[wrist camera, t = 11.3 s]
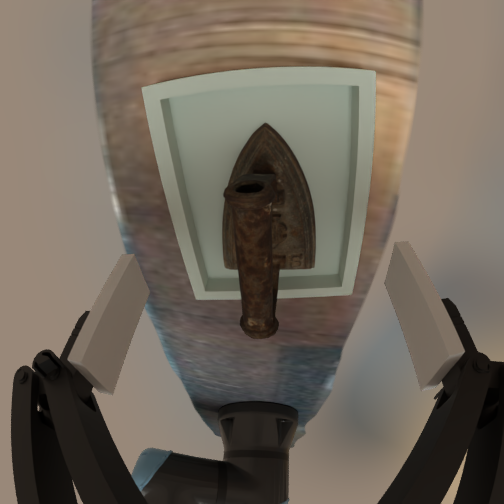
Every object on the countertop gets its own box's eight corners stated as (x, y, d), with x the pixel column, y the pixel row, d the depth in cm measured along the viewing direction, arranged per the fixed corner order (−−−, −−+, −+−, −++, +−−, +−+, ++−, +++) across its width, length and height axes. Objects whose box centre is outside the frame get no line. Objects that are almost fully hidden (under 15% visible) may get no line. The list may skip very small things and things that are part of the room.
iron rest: (346, 274, 24) (351, 294, 22) (201, 279, 26) (196, 299, 24) (362, 69, 14) (375, 71, 12) (156, 83, 15) (141, 87, 13)
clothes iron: (228, 266, 24) (186, 350, 15) (218, 126, 19) (150, 129, 10) (313, 270, 22) (316, 361, 14) (317, 124, 18) (334, 119, 9)
